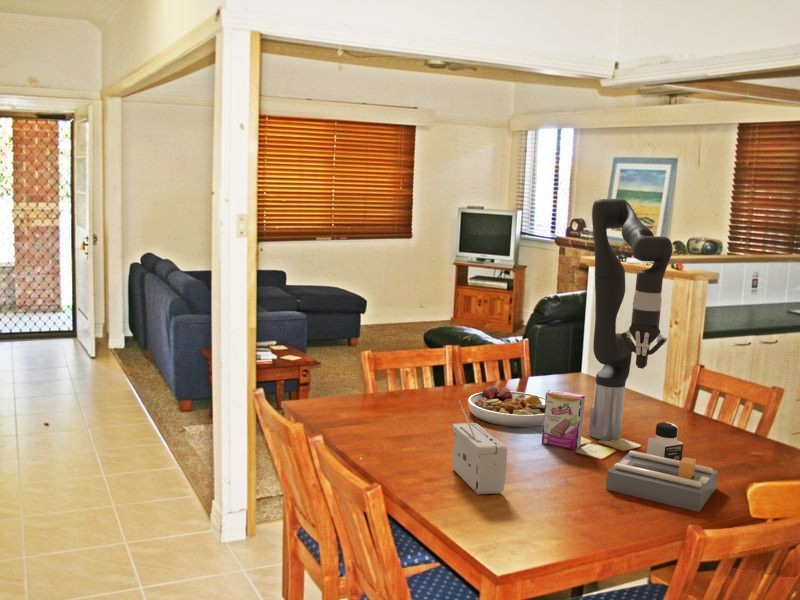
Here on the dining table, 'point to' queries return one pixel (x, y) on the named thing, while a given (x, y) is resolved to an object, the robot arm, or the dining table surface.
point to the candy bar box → (563, 419)
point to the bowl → (508, 407)
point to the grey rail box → (661, 481)
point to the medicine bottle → (665, 442)
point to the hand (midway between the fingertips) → (640, 367)
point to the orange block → (687, 468)
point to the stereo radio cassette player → (479, 458)
